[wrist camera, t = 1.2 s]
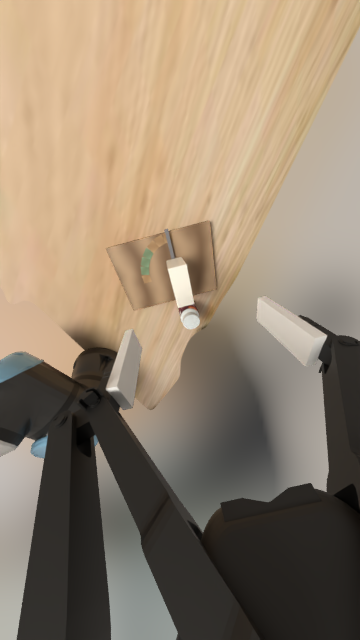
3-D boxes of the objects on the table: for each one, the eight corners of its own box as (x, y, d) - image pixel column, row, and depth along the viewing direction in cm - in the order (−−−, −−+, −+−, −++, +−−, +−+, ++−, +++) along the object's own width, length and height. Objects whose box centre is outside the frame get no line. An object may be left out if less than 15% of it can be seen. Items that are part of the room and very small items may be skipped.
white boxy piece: (173, 287, 36) (178, 308, 27) (158, 231, 30) (158, 232, 21) (185, 284, 36) (194, 303, 27) (173, 227, 30) (179, 227, 20)
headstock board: (134, 307, 40) (133, 310, 39) (108, 247, 33) (105, 248, 31) (214, 286, 40) (216, 289, 38) (207, 220, 32) (209, 220, 30)
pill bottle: (193, 297, 41) (200, 311, 34) (195, 312, 43) (202, 328, 36) (176, 300, 41) (180, 315, 34) (179, 315, 43) (183, 332, 36)
